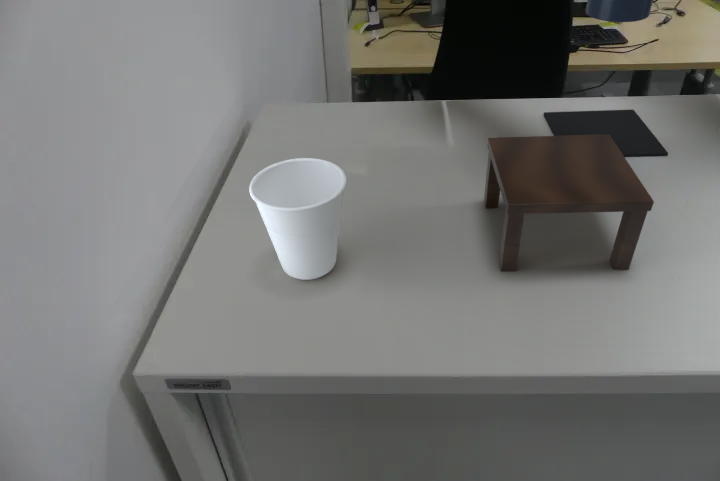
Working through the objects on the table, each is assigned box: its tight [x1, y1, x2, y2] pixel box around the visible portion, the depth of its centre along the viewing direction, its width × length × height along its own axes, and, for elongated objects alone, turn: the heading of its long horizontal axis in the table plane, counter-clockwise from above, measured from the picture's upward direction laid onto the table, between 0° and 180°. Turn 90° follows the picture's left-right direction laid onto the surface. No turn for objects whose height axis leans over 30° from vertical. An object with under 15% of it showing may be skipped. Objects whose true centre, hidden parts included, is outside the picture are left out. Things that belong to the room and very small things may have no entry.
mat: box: [543, 109, 669, 158], centre depth 84 cm, size 14×14×1 cm
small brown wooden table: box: [483, 134, 655, 272], centre depth 63 cm, size 14×14×9 cm
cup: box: [248, 157, 348, 281], centre depth 60 cm, size 10×10×11 cm
